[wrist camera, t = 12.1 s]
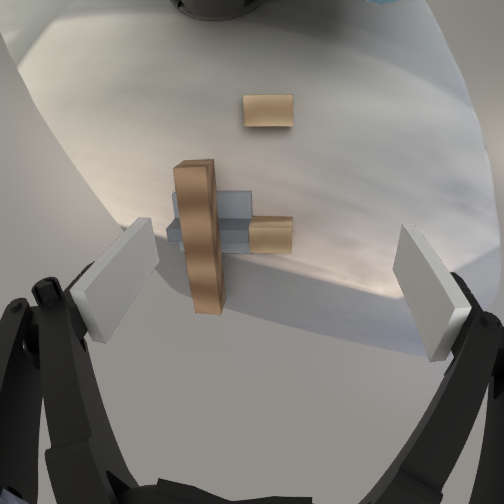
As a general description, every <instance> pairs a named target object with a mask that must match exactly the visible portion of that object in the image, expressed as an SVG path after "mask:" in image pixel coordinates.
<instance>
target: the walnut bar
mask: <svg viewBox="0 0 504 504" xmlns="http://www.w3.org/2000/svg"><path fill="white" fill-rule="evenodd" d="M173 172H174V180H175V188H176V196H177V204H178V211H179V218H180V225H181V232H182V239H183V245H184V252H185V258H186V264H187V270H188V276H189V281H190V287H191V293H192V298H193V303H194V308H195V313H204V314H217V315H221V313H222V310H223V306H224V303H225V300H226V294H225V284H224V274H223V264H222V254H221V243H220V232H219V220H218V209H217V196H216V184H215V170H214V159H207V160H185V161H183V162H181V163H180V164H179V165H177V166H176V167H174V168H173Z"/></svg>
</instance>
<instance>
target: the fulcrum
mask: <svg viewBox="0 0 504 504" xmlns="http://www.w3.org/2000/svg"><path fill="white" fill-rule="evenodd" d="M216 196H217V209H218V220H219V232H220V243H221V253H242V254H253V252H250V243H249V225H250V222H251V219H252V195H251V191H216ZM172 199H173V206H174V213H175V219H174V220H173V222H172V223H171V224H170V225H169V226H168V228H167V229H166V232H167V237H168V242H179V245H180V251H181V252H184V245H183V239H182V232H181V225H180V218H179V211H178V204H177V196H176V192H174V193H173V194H172Z"/></svg>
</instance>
